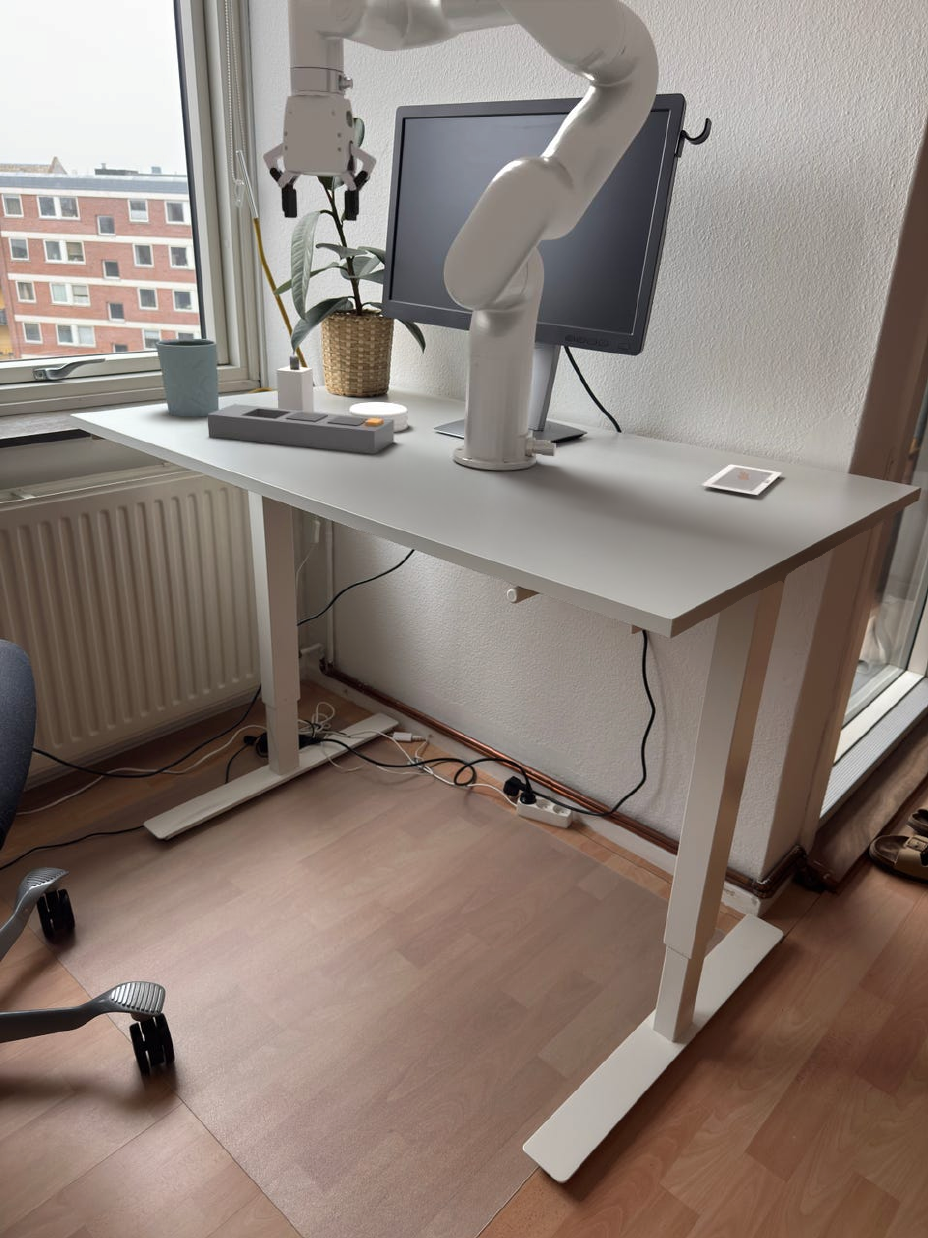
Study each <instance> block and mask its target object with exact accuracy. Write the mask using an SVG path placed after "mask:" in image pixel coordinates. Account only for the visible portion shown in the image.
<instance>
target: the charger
mask: <svg viewBox="0 0 928 1238" xmlns="http://www.w3.org/2000/svg"><path fill="white" fill-rule="evenodd" d="M288 359H289V365H288V366H285V367H281V368H278V369H276V385H277V386H276V387H277V388H276V389H277V407H278V408H279V409H289V410H299V411H310V412H315V407H314V406H315V405H314V402H315V401H314V377H313V375H314V374H313V372H314V371H313V367H303V366H300V356H297V355H291V356H289V358H288Z"/></svg>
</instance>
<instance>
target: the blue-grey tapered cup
mask: <svg viewBox="0 0 928 1238" xmlns="http://www.w3.org/2000/svg"><path fill="white" fill-rule="evenodd" d="M155 347H156V351H157V356H158V359H159V365H160V372H161V377H162V382H163V388H164V390H165V391H164V392H165V394H166V395H165V399H166V404H167V409H168V413H169V414H170V415H173V416H177V417H188V418H189V417H191V418H192V417H193V418H195V417H206V416H207V414H209V413H212V412H215V411H217V410H220V405H219V404H220V403H219V374H218V342H217V340H213V339H206V338H175V339H171V338H170V339H164V340H158V341H156V343H155Z"/></svg>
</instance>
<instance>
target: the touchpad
mask: <svg viewBox="0 0 928 1238" xmlns="http://www.w3.org/2000/svg"><path fill="white" fill-rule="evenodd" d="M782 474H783V472H780V471H774V470H768V469H762V468H761V469H760V468H757V467H756V468H755V467H749V466H743V465H738V464H737V465H736V464H729V465H727V466H725V467H724V468H723V469H721V470H720V471H719V472H717V473H716V474H714V475H713V476H711V478H709V479H708V480H706V481H705V482H703V483H702V484H701V487H703V486H704V487H709V488H715V489H719V490H725V491H726V490H727V491H731V492H737V493H742V494H749V495H755V496H759V494H761V492H763V491H764V490H765V489H766V488H767V487H768V486H770V485H771V483H773V482H774V481H775V480H776V479H777V478H778V477H780V476H781V475H782Z"/></svg>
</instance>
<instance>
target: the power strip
mask: <svg viewBox="0 0 928 1238" xmlns="http://www.w3.org/2000/svg"><path fill="white" fill-rule="evenodd" d="M206 418H207V429H208V437H213V438H222V439H223V438H224V439H232V440H240V441H241V440H242V441H248V442H249V441H250V442H259V443H260V442H261V443H267V444H280V445H287V446H296V447H304V448H305V447H306V448H307V447H308V448H316V449H324V450H334V451H343V452H354V453H362V454H370V455H371V454H372V455H373V454H374V455H375V454H377V453H378V452H380V451H382V450H383V449H384V448H386V447H388V446H389V445H390V444H392V443H394V441H395V439H394V438H395V436H394V435H395V434H394V433H395V432H394V420H391V419H381V418H371V417H361V416H351V415H349V414H339V413H329V412H321V411H320V412H318V411H314V412H310V411H299V410H289V409H279V408H277V407H267V406H256V405H247V404H236V403H234V404H231V405H229V406H225V407H223V408H221V409H220V408H219V410H217V411H215V412H212V413H209V414H207V417H206Z"/></svg>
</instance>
